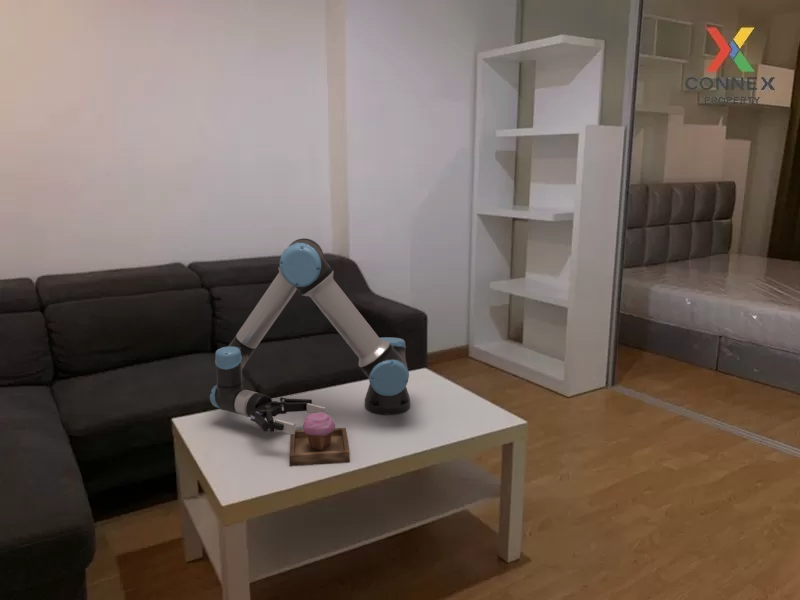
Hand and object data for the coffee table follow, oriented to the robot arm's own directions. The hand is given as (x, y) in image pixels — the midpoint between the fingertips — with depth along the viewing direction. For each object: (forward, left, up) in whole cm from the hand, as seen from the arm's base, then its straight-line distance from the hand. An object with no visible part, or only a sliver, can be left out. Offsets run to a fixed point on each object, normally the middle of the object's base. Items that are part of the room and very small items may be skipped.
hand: (310, 420), depth 180 cm
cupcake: (-2, +1, -8) cm, 8 cm away
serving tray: (-2, +1, -9) cm, 9 cm away
